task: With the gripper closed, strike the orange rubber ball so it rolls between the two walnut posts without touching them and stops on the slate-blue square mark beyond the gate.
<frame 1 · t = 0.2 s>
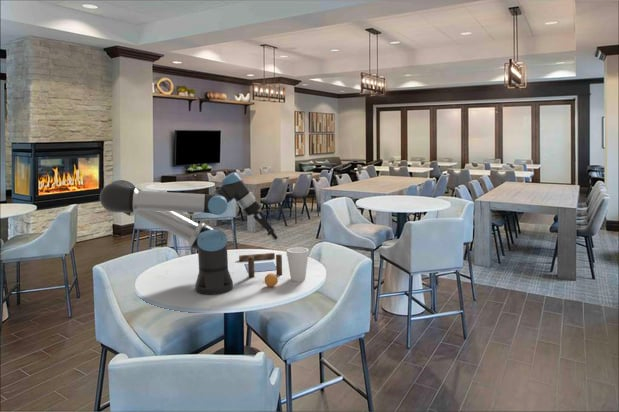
hand: (277, 241, 201), 15 cm above the table, tool tilted 35°, fingers open, 13 cm apart
ball: (271, 280, 186), on the table
post left: (251, 276, 200), on the table
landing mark: (261, 267, 215), on the table
post right: (279, 274, 203), on the table
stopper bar: (257, 259, 229), on the table
foam cup: (298, 279, 196), on the table
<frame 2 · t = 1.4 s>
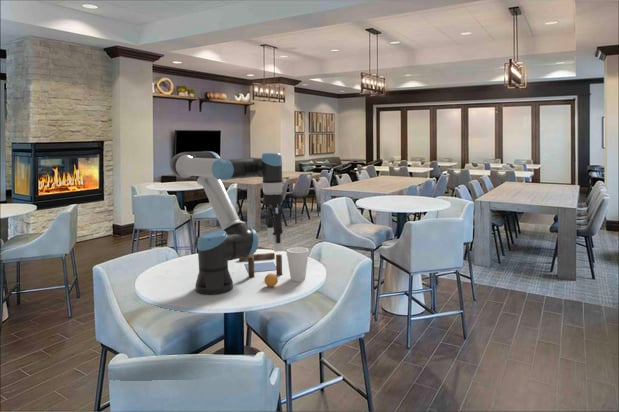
hand: (274, 247, 175), 19 cm above the table, tool pointing down, fingers open, 13 cm apart
nothing on the table moved.
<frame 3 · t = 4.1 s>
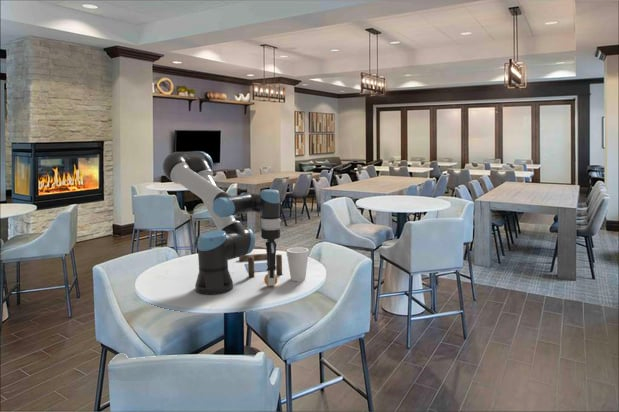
hand: (271, 284, 183), 2 cm above the table, tool pointing down, fingers closed
ball: (270, 279, 187), on the table, touching gripper
everything else where it was.
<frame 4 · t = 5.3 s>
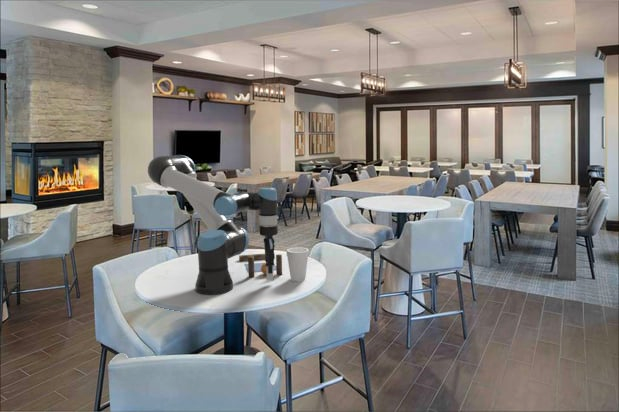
hand: (270, 280, 189), 2 cm above the table, tool pointing down, fingers closed
ball: (267, 268, 203), on the table
everything else where it was.
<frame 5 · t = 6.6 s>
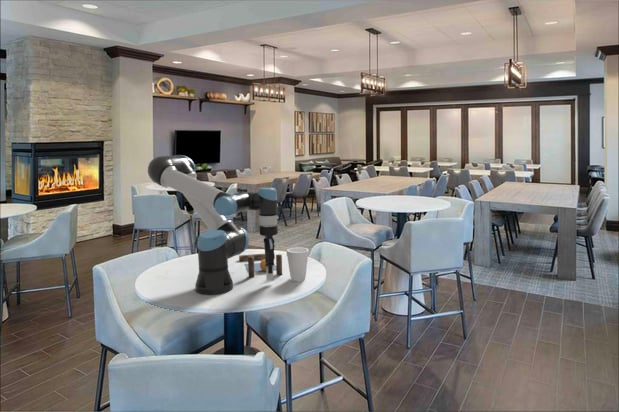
hand: (270, 280, 189), 2 cm above the table, tool pointing down, fingers closed
ball: (265, 264, 209), on the table
everything else where it was.
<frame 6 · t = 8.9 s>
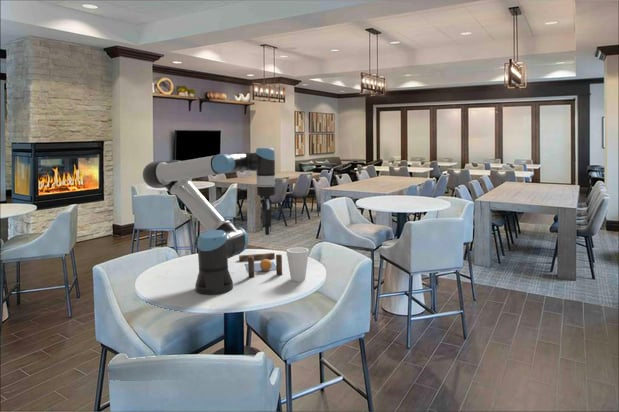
hand: (266, 241, 187), 18 cm above the table, tool pointing down, fingers closed
nothing on the table moved.
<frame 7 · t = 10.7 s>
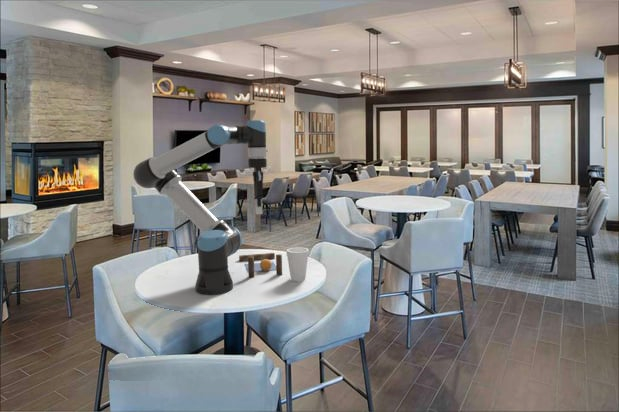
hand: (259, 213, 190), 29 cm above the table, tool pointing down, fingers closed
nothing on the table moved.
at the end: ball 6.5 cm from the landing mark (horizontally); ball never touched post left; ball never touched post right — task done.
